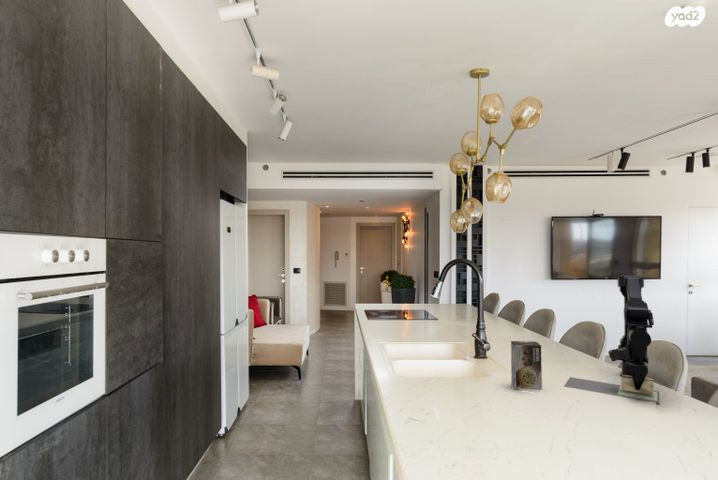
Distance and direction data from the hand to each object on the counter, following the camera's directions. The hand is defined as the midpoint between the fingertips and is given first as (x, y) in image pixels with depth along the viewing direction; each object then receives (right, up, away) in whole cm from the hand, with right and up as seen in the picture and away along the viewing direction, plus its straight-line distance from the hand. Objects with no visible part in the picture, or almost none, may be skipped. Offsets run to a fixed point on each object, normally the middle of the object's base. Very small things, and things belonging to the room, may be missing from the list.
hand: (637, 387), depth 145 cm
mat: (-7, -3, +4) cm, 8 cm away
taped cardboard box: (0, -1, 0) cm, 1 cm away
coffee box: (-36, -3, +6) cm, 36 cm away
